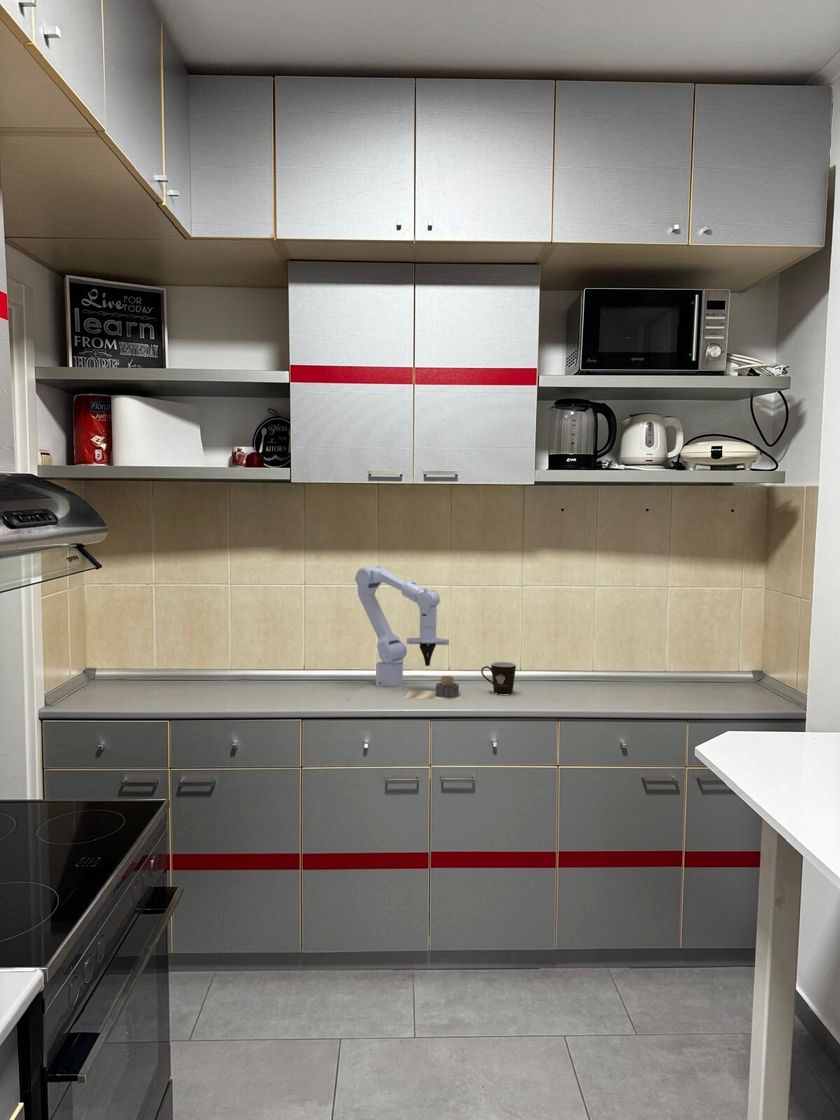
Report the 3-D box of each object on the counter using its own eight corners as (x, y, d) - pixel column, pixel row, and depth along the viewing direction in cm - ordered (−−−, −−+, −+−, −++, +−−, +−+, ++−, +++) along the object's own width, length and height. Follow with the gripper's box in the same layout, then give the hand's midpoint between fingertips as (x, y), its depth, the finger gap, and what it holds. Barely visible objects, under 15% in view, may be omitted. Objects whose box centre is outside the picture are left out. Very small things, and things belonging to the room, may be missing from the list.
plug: (440, 696, 270) (440, 678, 270) (441, 693, 275) (441, 675, 274) (453, 696, 270) (453, 679, 270) (454, 693, 275) (454, 676, 274)
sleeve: (435, 697, 269) (435, 686, 269) (437, 692, 277) (437, 681, 276) (457, 698, 268) (458, 687, 268) (459, 692, 276) (459, 682, 276)
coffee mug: (520, 693, 281) (521, 664, 280) (504, 697, 275) (504, 667, 274) (495, 687, 289) (496, 659, 289) (479, 691, 284) (479, 662, 283)
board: (405, 700, 268) (405, 697, 268) (409, 692, 280) (409, 689, 280) (459, 702, 266) (459, 699, 266) (461, 694, 278) (461, 691, 278)
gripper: (405, 627, 276) (405, 666, 277) (448, 628, 275) (447, 668, 275) (408, 624, 283) (407, 662, 284) (449, 625, 282) (449, 664, 282)
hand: (427, 665), depth 280 cm, fingers closed
